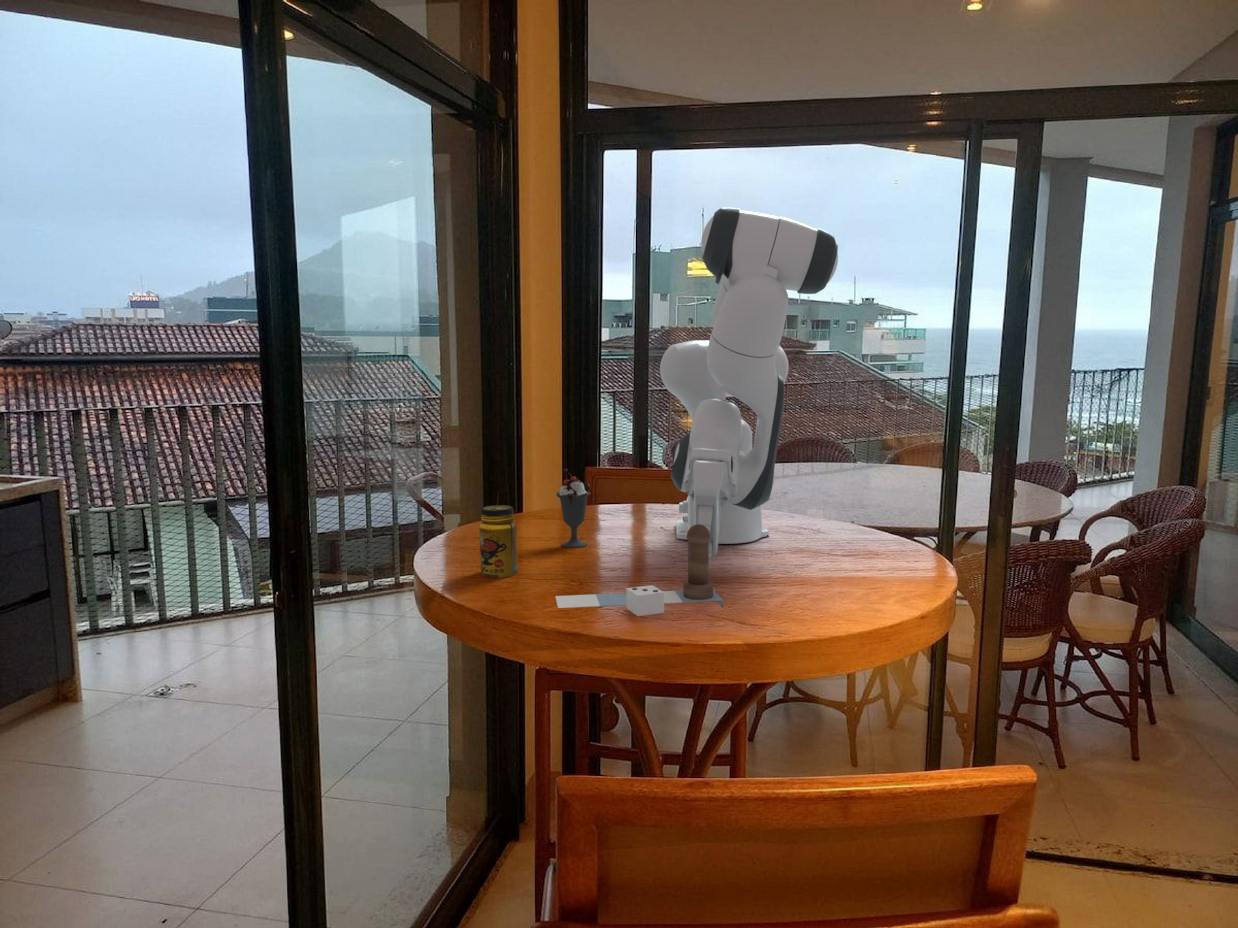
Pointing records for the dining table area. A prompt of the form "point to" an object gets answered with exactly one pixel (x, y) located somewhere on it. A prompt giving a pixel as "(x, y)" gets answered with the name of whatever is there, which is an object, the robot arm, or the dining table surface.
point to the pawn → (698, 564)
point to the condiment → (498, 542)
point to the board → (622, 599)
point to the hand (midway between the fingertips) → (703, 553)
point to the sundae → (573, 507)
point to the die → (645, 600)
